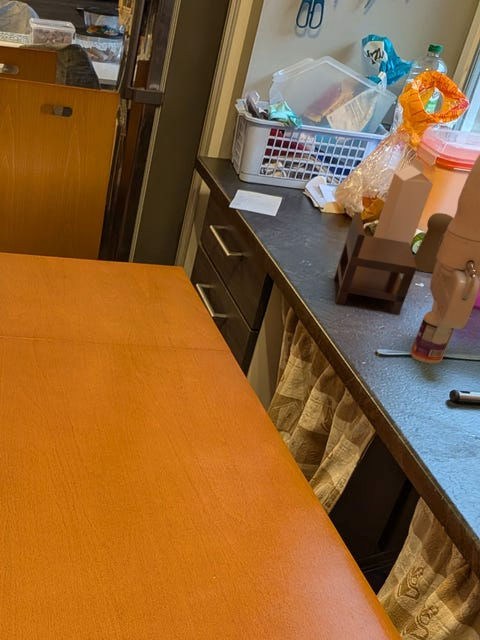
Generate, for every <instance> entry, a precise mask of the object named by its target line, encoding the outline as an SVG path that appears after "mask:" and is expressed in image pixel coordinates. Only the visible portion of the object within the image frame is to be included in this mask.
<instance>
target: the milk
mask: <svg viewBox="0 0 480 640" xmlns="http://www.w3.org/2000/svg"><path fill="white" fill-rule="evenodd" d="M425 165H426V164H425V163H424V162H423V161H422V160H420V159H419V158H417V157H414V158H413V160H412V162H411V164H410V165H408V166H407V167H404V168H402V169H400V170H398V171H396V172H394V173H393V176H392V179H391V182H390V185H389V188H388V191H387V194H386V197H385V201H384V204H383V207H382V209H381V213H380V216H379V218H378V220H377V224H376V228H375V230H374V234H373V235H372V237H377V238H383V239H389V240H395V241H401V242H407V243H409V244H410V247H411V248H412V244H413V241H414V238H415V235H416V233H417V230H418V227H419V224H420V221H421V219H422V216H423V213H424V211H425V207H426V204H427V203H428V199H429V196H430V193H431V191H432V188H433V185H434V182H432V181H431V180H430V178H429V177H427V176H426V175H425V173H423V172H424V168H425ZM400 275H401V273H400Z"/></svg>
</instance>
